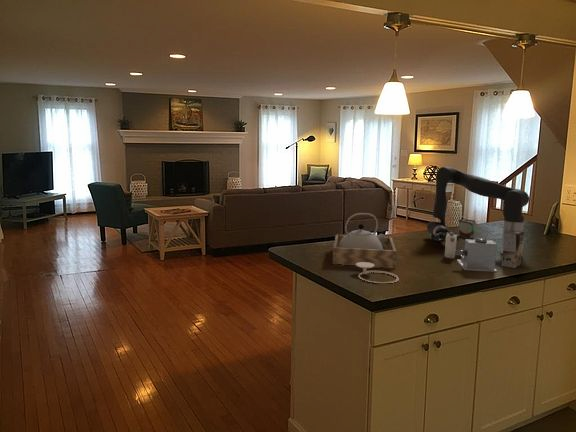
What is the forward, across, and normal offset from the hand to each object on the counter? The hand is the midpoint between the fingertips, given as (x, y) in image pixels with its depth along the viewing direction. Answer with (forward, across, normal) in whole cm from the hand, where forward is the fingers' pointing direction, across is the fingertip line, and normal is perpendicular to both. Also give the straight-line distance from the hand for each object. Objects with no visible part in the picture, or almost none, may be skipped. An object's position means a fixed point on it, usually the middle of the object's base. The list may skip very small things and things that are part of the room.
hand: (446, 239), depth 245 cm
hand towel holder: (+54, -38, +7) cm, 66 cm away
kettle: (+23, -44, +7) cm, 50 cm away
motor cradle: (+26, +8, +6) cm, 28 cm away
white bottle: (+11, 0, +6) cm, 13 cm away
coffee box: (+21, +26, +7) cm, 34 cm away
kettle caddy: (+23, -43, +6) cm, 49 cm away
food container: (-43, +21, +7) cm, 48 cm away
